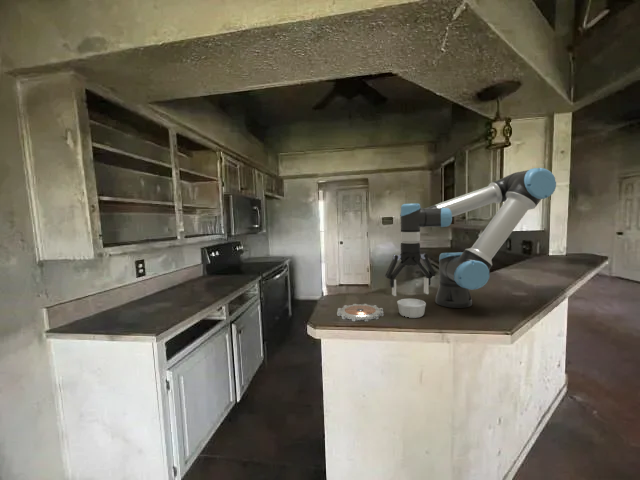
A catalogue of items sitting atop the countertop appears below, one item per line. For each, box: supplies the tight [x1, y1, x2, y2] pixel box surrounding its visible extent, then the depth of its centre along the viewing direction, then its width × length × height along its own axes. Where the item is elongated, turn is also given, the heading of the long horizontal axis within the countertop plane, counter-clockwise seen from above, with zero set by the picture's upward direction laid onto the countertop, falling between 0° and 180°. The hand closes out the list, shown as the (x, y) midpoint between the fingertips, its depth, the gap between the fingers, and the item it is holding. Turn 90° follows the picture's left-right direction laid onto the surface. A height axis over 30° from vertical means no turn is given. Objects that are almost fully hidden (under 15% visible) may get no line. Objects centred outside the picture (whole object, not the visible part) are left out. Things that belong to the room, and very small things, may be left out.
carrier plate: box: [336, 303, 385, 322], centre depth 133 cm, size 19×19×2 cm
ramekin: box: [396, 298, 427, 319], centre depth 129 cm, size 11×11×5 cm
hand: (410, 294), depth 128 cm, fingers open, 13 cm apart
